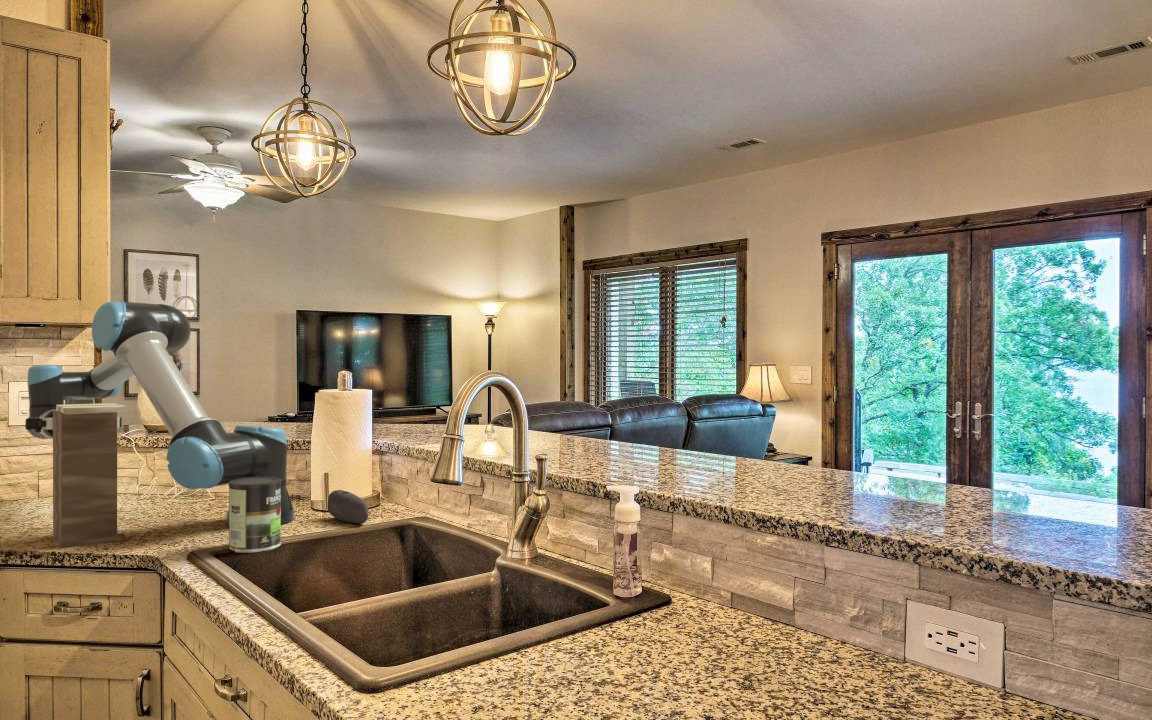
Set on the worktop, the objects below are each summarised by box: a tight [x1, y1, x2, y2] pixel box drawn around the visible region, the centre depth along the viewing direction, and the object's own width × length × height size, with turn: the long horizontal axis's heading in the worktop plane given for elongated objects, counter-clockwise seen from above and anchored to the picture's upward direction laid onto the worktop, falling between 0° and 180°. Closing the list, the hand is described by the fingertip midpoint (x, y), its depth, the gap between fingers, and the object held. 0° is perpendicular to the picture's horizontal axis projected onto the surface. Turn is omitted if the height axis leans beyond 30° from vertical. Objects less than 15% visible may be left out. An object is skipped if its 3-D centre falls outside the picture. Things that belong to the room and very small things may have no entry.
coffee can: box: [227, 477, 282, 554], centre depth 159 cm, size 10×10×14 cm
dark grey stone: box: [326, 489, 370, 524], centre depth 183 cm, size 15×5×7 cm, turn 45°
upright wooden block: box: [52, 410, 118, 549], centre depth 164 cm, size 12×10×28 cm
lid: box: [56, 396, 127, 414], centre depth 165 cm, size 29×11×2 cm, turn 42°
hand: (86, 422), depth 179 cm, fingers open, 13 cm apart
